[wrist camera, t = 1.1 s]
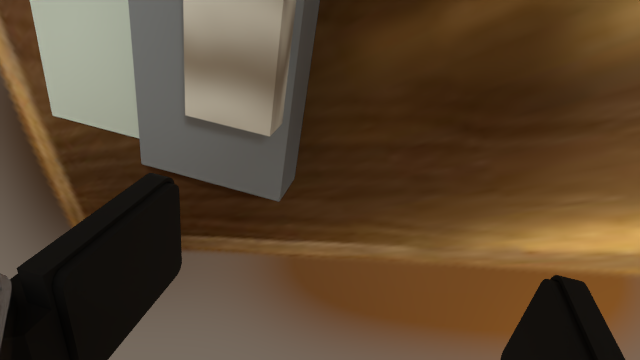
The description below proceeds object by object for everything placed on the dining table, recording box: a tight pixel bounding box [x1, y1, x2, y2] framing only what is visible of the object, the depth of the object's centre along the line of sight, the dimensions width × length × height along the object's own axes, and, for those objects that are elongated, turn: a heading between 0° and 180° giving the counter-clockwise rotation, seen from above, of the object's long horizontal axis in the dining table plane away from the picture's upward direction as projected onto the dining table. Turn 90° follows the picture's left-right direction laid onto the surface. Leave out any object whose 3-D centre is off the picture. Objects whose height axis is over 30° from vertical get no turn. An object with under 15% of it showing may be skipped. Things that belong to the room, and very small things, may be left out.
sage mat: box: [30, 0, 139, 138], centre depth 31 cm, size 22×12×1 cm, turn 171°
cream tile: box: [183, 0, 296, 136], centre depth 25 cm, size 9×6×2 cm, turn 171°
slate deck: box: [128, 0, 320, 202], centre depth 28 cm, size 22×12×4 cm, turn 171°
